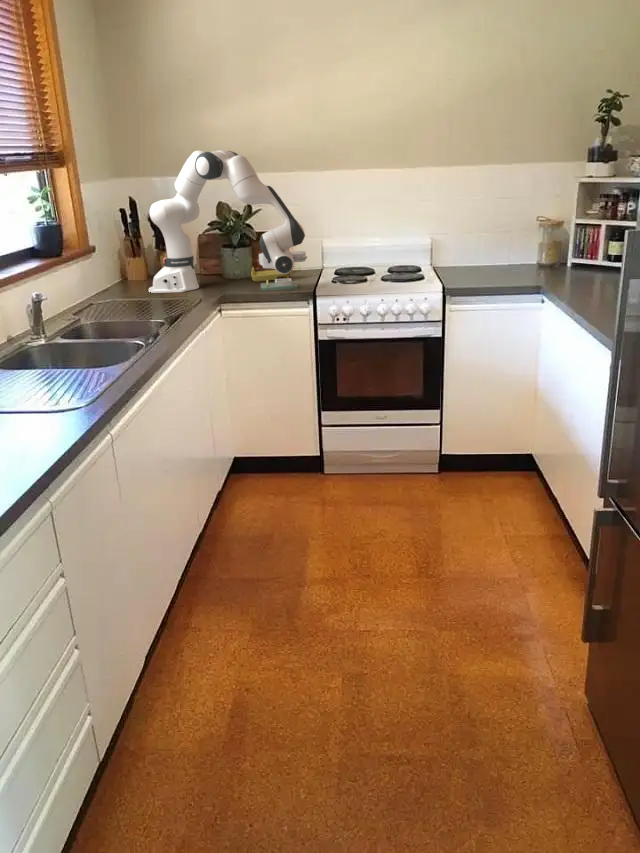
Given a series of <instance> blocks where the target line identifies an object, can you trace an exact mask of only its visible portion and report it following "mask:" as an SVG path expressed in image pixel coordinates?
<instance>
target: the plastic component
mask: <svg viewBox="0 0 640 853" xmlns="http://www.w3.org/2000/svg"><path fill="white" fill-rule="evenodd" d="M293 269H294V268H293ZM293 269H292V270H291V271H290V272H289V273H287V274H280V273H278V272H277V271H276V270H275V269H270V270H263V271H261V270H260V271H255V268H254V266H252V267H251V272H250V276H251V280H252V281H253V282H267V280H268V281H275V279H278V278H280V277H281V279H287V278H290V274H291V273H292V272H293Z"/></svg>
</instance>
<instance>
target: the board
mask: <svg viewBox="0 0 640 853" xmlns="http://www.w3.org/2000/svg"><path fill="white" fill-rule="evenodd" d="M283 289H285V290H298V289H299V285H298V282H297V281H296V280H295V281H292V278H290V277H289V278H287V279H282V278H277V279H275V280H274V282H269V280H267V281H266V283H265V282H263V283H260V291H261V292H263V291H265V292H266V291H267V290H268V291H278V290H279V291H280V290H281V291H283Z"/></svg>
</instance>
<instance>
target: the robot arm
mask: <svg viewBox="0 0 640 853" xmlns="http://www.w3.org/2000/svg"><path fill="white" fill-rule="evenodd" d="M226 179H228V181H229V183H230V185H231V188H232V189H233V192H234V193H235V196H236V197H237V198H238V200H239V201H240V202H242V204H246V205H250V206H252V205H254V206H257V205H271V206H273V207H274V208H275V209H276V211H277V212H278V214H279V216H280V217H281V218H282V219H283V221H284V222H283V223H282V224H280V225H279V226H276V227H274V228H272V229H269V230H268V231H266V232H264V233H262V234H261V235H260V239H259V246H260V249H261V253H258V264H259V265H260V266H262V268H263V269H270V270H276V271H277V272H278V273H280V274H287V273H289V272H290V271H291V270H292V269H294V267H295V263H303V262H306V260H307V259H308V256H307V255H306V253H307V252H306V251H303V250H302V251H301V250H299V251H290V250H289V249H291V248H293V247H296V246H298V245H301V244H302V243H303V241H304V240H305V236H306V234H305V229H304V228H303V226H302V225H301V224H300V222H299V221H298V220H297V219H296V218H295V217H294V214H292V213H291V211H290V209H289V208H288V206H286V204H285V202H284V201H283V200H282V198H281V197H280V196H279V194H278V193H277V192H276V190H275V189H274V188H273V187H272V186H270V185H266V184H264V182H262V181H261V180H260V178H259V176H258V174H257V171H256V170H255V169H254V167H253V166H252V164H251V162H249V160H248V158H247V157H246V156H244V155H240V154H239V153H237V152H234V151H232V150H231V151H230V150H227V151H226V150H213V151H203V150H195V151H193V152H192V153H191V154H190V155H189V157H188V158H187V159H186V161H185V162H184V164H183V166H182V168H181V169H180V172H179V173H178V176H177V178H176V180H175V181H174V189H175V191H176V194H175V196H173V198H169V199H168V198H167V199H161V200H158V201H156V202H154V203H152V204H151V206H150V207H149V218H150V220H151V222H152V223H153V225H156V226H157V227H158V228H159V230H160V232H161V233H162V237H163V238H164V243H165V250H166V257H163V259H162V264H163V267H162V268H161V269H160V270H159V271H158V272H157V273H156V274H155V275H154V276H153V279H152V286H150V287H149V288H148V292H149V293H150V292H151V294H157V293H158V294H159V293H160V294H161V293H162V294H163V293H165V294H166V293H184V292H187V291H188V292H189V291H194V290H197V289H199V288H200V285H199V283H198V279H197V276H196V272H195V267H196V266H195V258H194V255H193V249H192V240H191V237H190V235H187V233H186V232H185V231H184V230H183V228H182V225H183V224H190V223H191V222H193V221H195V220H197V219H198V218H199V216H200V210H201V209H200V206H199V203H198V198H199V196H200V194H201V193H202V190H203V188H204V187H205V185H206V183H207V181H213V180H214V181H216V180H217V181H218V180H221V181H222V180H226ZM292 271H293V270H292Z"/></svg>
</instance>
